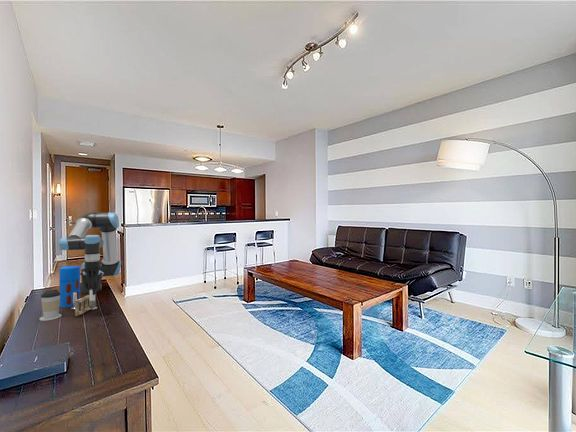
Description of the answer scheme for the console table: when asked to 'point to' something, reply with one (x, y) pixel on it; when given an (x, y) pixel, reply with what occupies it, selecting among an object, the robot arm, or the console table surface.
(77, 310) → the gate
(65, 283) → the thermos
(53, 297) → the coffee cup
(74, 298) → the post
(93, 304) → the hinge post
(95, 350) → the console table surface
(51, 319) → the coaster
